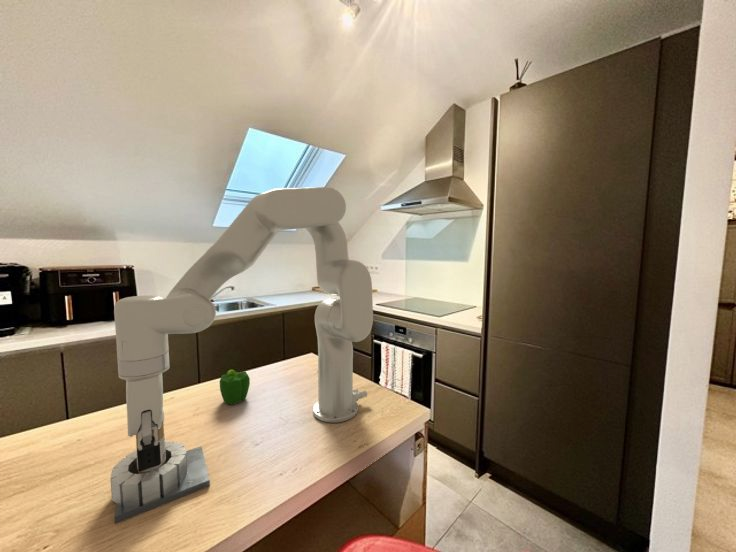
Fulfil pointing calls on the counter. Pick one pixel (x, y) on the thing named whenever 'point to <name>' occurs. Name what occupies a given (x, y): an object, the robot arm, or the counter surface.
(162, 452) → the sprinkles bottle
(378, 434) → the counter surface
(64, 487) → the counter surface
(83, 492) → the counter surface
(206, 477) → the collar block
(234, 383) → the bell pepper
